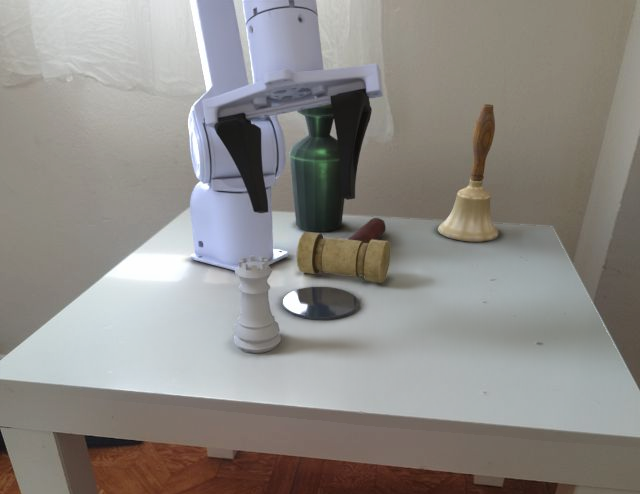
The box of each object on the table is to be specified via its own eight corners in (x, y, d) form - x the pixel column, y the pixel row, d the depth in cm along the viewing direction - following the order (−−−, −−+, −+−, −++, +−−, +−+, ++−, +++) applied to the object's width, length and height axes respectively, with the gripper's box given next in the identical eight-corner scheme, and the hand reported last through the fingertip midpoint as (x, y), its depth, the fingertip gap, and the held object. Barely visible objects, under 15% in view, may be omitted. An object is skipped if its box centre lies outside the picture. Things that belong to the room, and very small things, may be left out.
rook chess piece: (237, 332, 59) (231, 251, 55) (283, 333, 59) (280, 252, 55) (230, 354, 56) (223, 269, 51) (279, 355, 56) (276, 270, 51)
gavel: (348, 201, 86) (419, 209, 83) (346, 235, 88) (415, 243, 86) (296, 236, 69) (383, 246, 66) (295, 276, 71) (379, 288, 68)
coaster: (267, 307, 64) (267, 305, 64) (309, 283, 70) (309, 281, 70) (332, 326, 61) (332, 323, 61) (371, 299, 66) (371, 297, 66)
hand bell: (509, 232, 86) (532, 104, 77) (479, 246, 81) (501, 111, 72) (457, 220, 90) (474, 98, 81) (426, 233, 85) (440, 104, 76)
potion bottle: (329, 237, 83) (331, 87, 73) (279, 227, 87) (275, 82, 76) (357, 222, 89) (363, 80, 79) (309, 213, 92) (309, 76, 82)
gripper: (175, 26, 46) (205, 214, 49) (365, -21, 43) (384, 186, 46) (211, 55, 53) (236, 219, 56) (378, 17, 49) (394, 195, 52)
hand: (304, 205), depth 51 cm, fingers open, 7 cm apart
